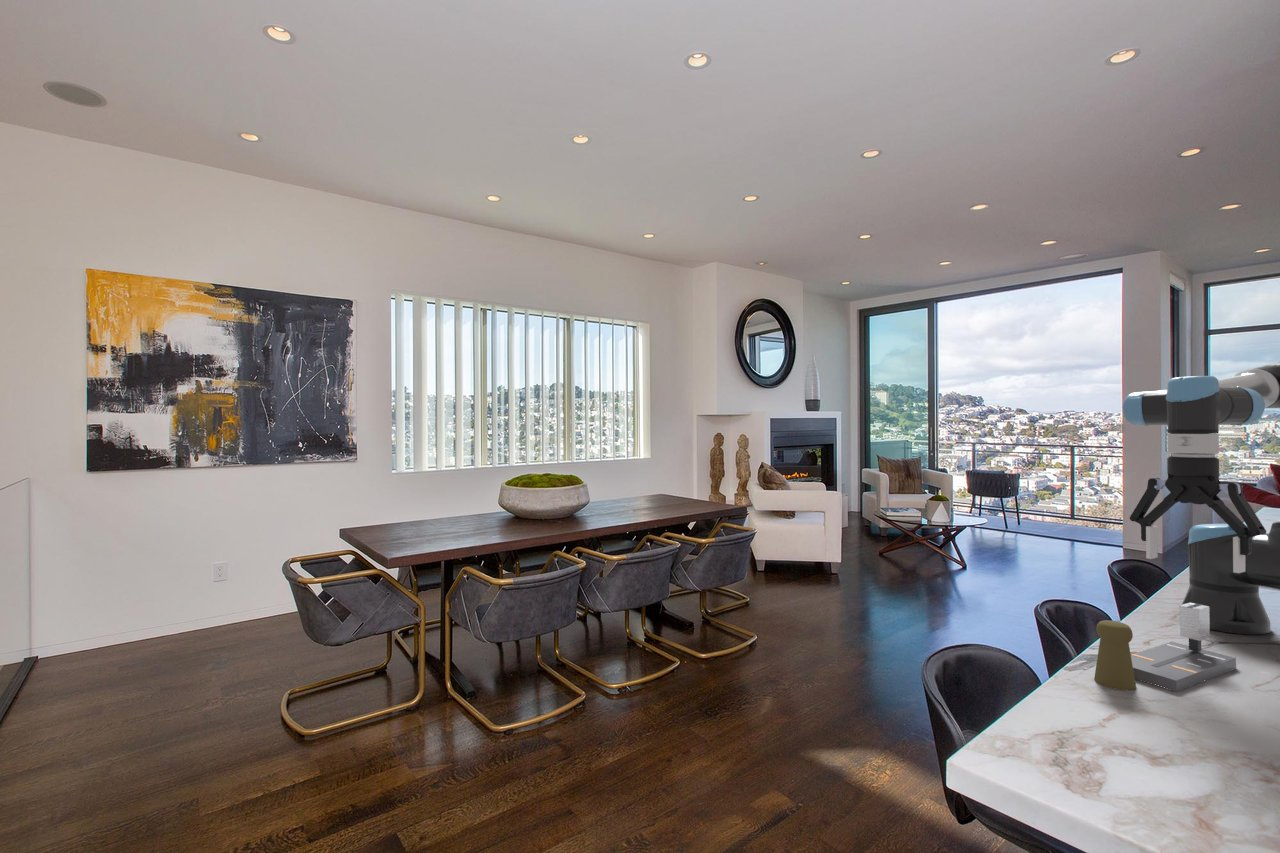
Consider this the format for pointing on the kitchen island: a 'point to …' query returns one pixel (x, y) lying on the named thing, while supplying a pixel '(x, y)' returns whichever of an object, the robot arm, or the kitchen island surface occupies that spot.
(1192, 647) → the fader knob
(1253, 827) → the kitchen island surface
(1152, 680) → the fader console
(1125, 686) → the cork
